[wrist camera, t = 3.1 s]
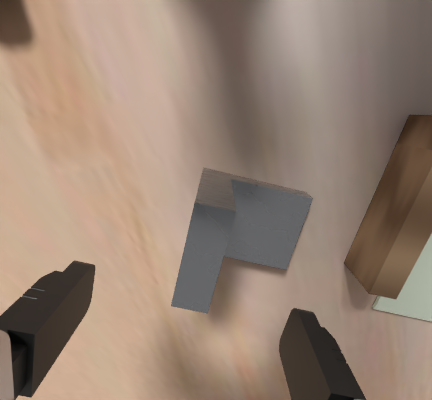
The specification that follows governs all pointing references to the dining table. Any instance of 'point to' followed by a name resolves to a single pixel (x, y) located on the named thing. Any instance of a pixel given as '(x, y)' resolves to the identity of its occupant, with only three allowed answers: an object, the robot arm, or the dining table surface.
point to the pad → (413, 290)
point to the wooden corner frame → (397, 215)
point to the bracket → (236, 231)
